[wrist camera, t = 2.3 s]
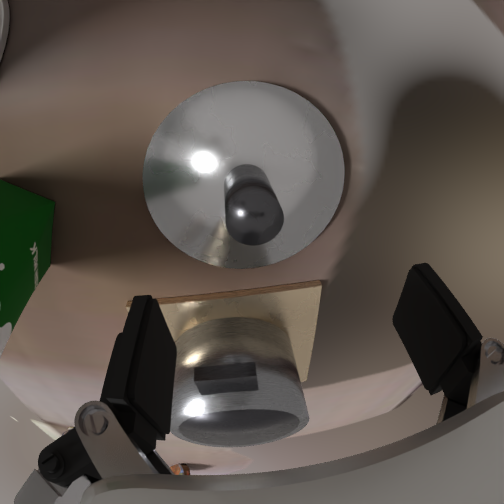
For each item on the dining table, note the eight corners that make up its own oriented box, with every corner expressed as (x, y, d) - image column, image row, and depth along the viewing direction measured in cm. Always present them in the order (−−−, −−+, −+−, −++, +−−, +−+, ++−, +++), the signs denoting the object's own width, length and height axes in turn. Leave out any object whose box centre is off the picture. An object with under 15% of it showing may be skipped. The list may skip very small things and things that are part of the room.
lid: (130, 99, 15) (92, 109, 10) (339, 81, 16) (388, 86, 10) (169, 268, 23) (159, 324, 18) (331, 249, 24) (358, 298, 19)
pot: (127, 301, 24) (104, 393, 16) (319, 280, 25) (356, 370, 17) (176, 389, 35) (175, 453, 26) (305, 376, 35) (320, 439, 27)
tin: (182, 462, 65) (183, 485, 58) (191, 463, 66) (192, 486, 59) (167, 467, 72) (167, 487, 65) (175, 468, 73) (175, 488, 66)
